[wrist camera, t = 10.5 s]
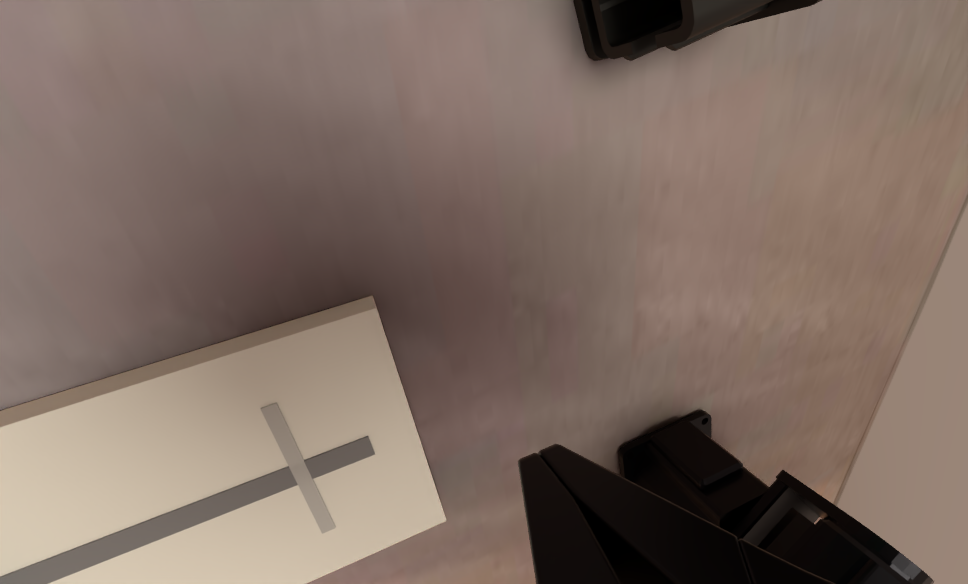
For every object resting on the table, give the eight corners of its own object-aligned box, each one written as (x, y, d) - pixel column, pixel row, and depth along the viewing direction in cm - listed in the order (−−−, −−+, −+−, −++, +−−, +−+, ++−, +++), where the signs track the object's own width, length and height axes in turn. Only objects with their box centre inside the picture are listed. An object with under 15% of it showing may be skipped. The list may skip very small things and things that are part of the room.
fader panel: (439, 498, 23) (447, 522, 22) (-125, 743, 18) (-164, 796, 16) (372, 295, 19) (376, 308, 17) (-424, 542, 13) (-514, 592, 12)
